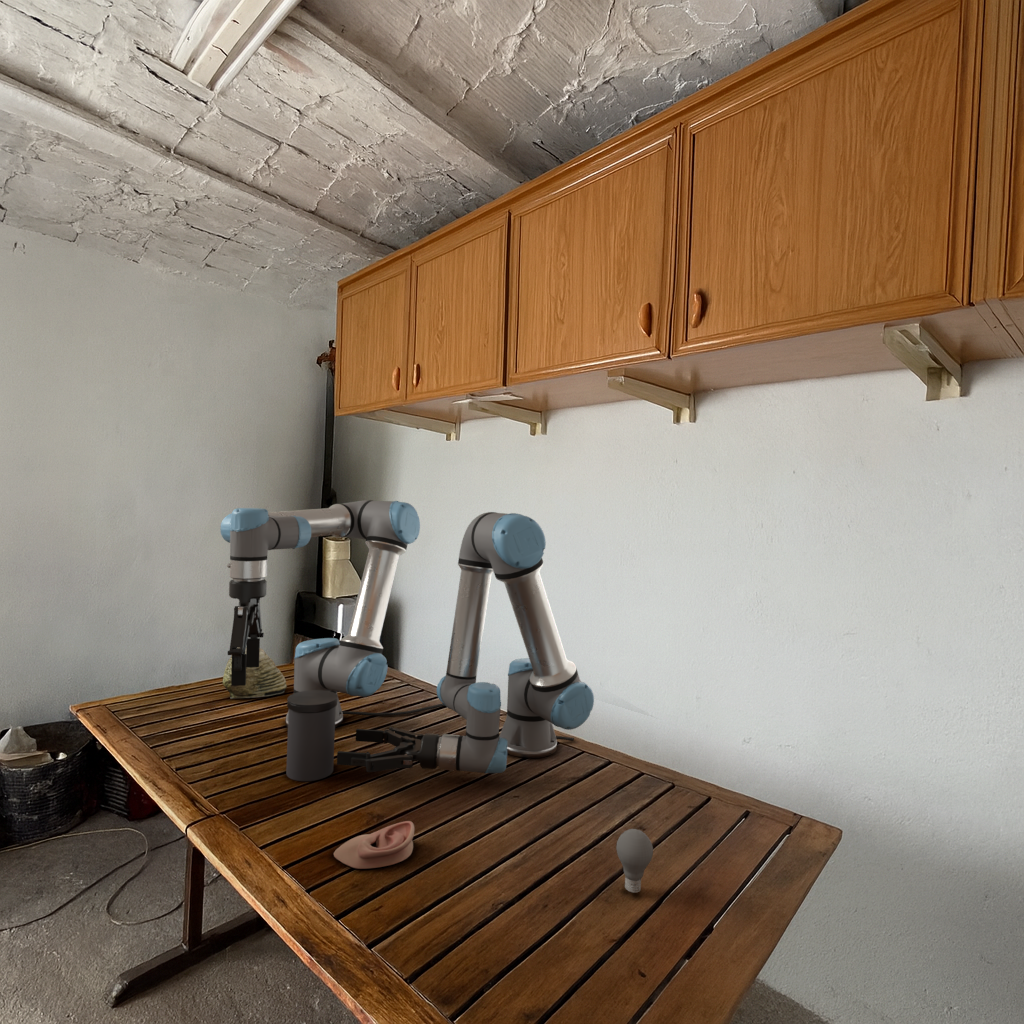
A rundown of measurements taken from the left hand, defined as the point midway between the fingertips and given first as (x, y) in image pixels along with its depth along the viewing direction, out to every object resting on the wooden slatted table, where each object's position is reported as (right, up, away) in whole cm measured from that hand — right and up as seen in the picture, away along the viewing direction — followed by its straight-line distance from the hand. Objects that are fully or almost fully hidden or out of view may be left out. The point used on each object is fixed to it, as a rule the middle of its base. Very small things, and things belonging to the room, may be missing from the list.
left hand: (245, 675), depth 138 cm
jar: (+12, -24, +7) cm, 28 cm away
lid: (+12, -7, +7) cm, 16 cm away
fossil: (-22, -21, +60) cm, 67 cm away
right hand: (+21, -18, +6) cm, 28 cm away
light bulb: (+78, -28, -33) cm, 89 cm away
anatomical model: (+34, -25, -25) cm, 49 cm away
